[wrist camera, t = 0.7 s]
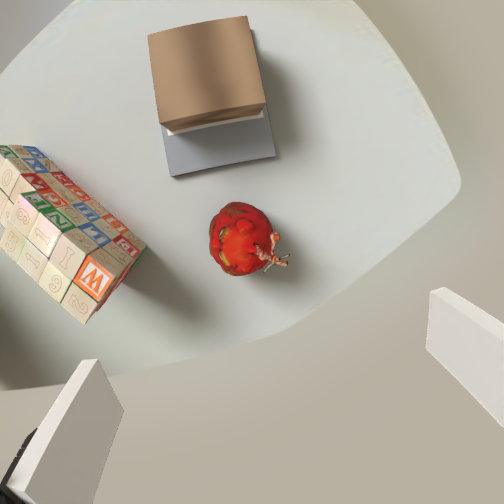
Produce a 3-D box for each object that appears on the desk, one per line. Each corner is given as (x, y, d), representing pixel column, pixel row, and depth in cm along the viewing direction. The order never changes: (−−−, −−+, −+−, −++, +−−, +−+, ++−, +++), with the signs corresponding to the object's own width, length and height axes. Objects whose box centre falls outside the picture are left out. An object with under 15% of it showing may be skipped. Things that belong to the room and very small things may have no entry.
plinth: (171, 131, 32) (159, 123, 26) (159, 55, 29) (147, 35, 23) (259, 114, 32) (265, 102, 26) (243, 38, 29) (246, 15, 23)
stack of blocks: (14, 184, 32) (-45, 193, 20) (35, 145, 31) (-25, 141, 19) (122, 282, 36) (83, 327, 24) (149, 245, 35) (114, 278, 24)
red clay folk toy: (207, 202, 35) (192, 222, 20) (268, 197, 35) (297, 213, 21) (213, 266, 37) (206, 325, 22) (272, 261, 37) (300, 316, 23)
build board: (171, 176, 34) (170, 176, 33) (150, 46, 29) (149, 44, 28) (275, 156, 34) (276, 155, 33) (248, 27, 30) (249, 24, 29)
